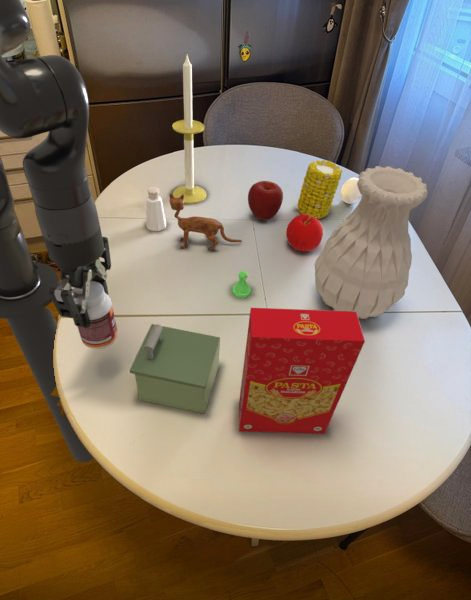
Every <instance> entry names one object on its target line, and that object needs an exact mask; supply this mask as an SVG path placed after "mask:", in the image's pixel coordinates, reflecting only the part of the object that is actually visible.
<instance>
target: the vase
mask: <svg viewBox="0 0 471 600" xmlns="http://www.w3.org/2000/svg"><path fill="white" fill-rule="evenodd" d="M357 179H358V182H357V186H358V189H359V191H360V193H361V195H362V197H361V198H360V200H359V201H358V204H357V206H356V207H355V208H354V209H353V210H352V212H351V213H350V214H349V215H348V216H347V217H346V218H345V219H343V220H342V221H341V222H340V223H339V224H338V226H337V227H336V228H334V230H333V231H332V233H331V234H330V236H329V238H328V239H327V240H326V242H325V243H324V246H323V248H322V251H321V252H320V254H319V255H318V257H317V258H316V260H315V261H314V279H315V287H316V291H317V293H318V295H319V296H320V297H321V298H322V301H323V303H324V304H325V305H327V306H328V307H330V308H333V311H353V312H357V315H358V318H359V319H362V320H364V319H365V320H366V319H368V318H378V317H380V316H382V315H384V313H385V312H387V311H388V310H391V309H392V308H393V307H394V306H395V305H396V304H397V303H398V302H399V301H400V300H401V299H403V297H404V296H405V292H406V289H407V288H408V286H409V278H410V269H411V266H412V259H413V254H412V244H411V243H412V238H411V236H410V233H409V223H410V213H411V211H412V209H415V208H416V207H418V206H420V205H421V203H423V202H424V201H425V200H426V199H427V197H428V194H429V193H428V185H427V183H424V182H423V179H422V178H421V177H417V176H415V175H414V173H413V172H411V171H409V172H408V171H405V170H403V168H400V167H398V168H394V167H392V166H388V165H386V166H385V167H382V166H380V165H375V166H374V168H371V167H367V168H365V170H364V171H361V172H360V173H359V175H358V178H357Z"/></svg>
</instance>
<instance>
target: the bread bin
mask: <svg viewBox="0 0 471 600" xmlns="http://www.w3.org/2000/svg"><path fill="white" fill-rule="evenodd" d="M220 347H221V341H220V342H219V345H218V348H217V352H216V355H215V358H214V362H213V365H212V368H211V371H210V375H209V378H208V381H207V384H206V388H205V389H203V388H198V387H193V386H189V385H184V384H179V383H174V382H170V381H165V380H160V379H156V378H151V377H146V376H142V375H137V374H134V378H135V382H136V388H137V393H138V398H139V400H140V401H144V402H149V403H153V404H158V405H161V406H167V407H171V408H176V409H179V410H185V411H190V412H194V413H199V414H204V415H205V414H206V411H207V408H208V404H209V401H210V397H211V394H212V390H213V387H214V384H215V381H216V378H217V377H216V376H217V373H218V370H219V365H220V349H221V348H220Z"/></svg>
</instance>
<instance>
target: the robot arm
mask: <svg viewBox="0 0 471 600" xmlns="http://www.w3.org/2000/svg"><path fill="white" fill-rule="evenodd" d="M30 33H31V21H30V19H29V16H28V13H27V11H26V9H25V7H24V5H23V3H22V2H21V0H0V132H2V134H5V135H6V136H8V137H9V138H12V139H17V140H23V139H28V138H32V137H35V136H38V135H41V134H45V133H47V136H46V137H45V138H44V140H42V141H41V142H40V143H38V144H37V145H36V146H34V147H32V148H31V149H30V150H28V151H27V152H26V153H25V155H24V156H23V158H22V169H23V173H24V176H25V179H26V182H27V185H28V188H29V191H30V193H31V197H32V200H33V204H34V211H35V212H34V213H35V215H36V220H37V223H38V225H39V228H40V232H41V235H42V238H43V242H44V244H45V247H46V251H47V253H48V257H49V259H50V260H51V261H52V262H53V264H55V265H56V266H57V267H58V268H59V271H60V273H59V277H60V278H59V279H60V284H59V286H58V287H57V288H55V287H51V288H50V291H49V294H50V296H51V298H52V300H53V301H52V303H53V305H54V307H55V308H56V311H57V312H58V315H59V316H60V317H63V318H69V319H72V320H73V323H74V326H75V327H77V326H78V327H83V328H88V327H89V326H90V324H91V323H90V319H89V316H88V312H87V309H86V298H88V297H89V295H90V282H91V281H95V282H98V283H100V284H101V285H102V286H103V288H104V291H105V293H106V294H107V295H108V296H110V295H109V290H108V283H107V278H108V273H107V271H110V270H111V269H112V260H111V252H110V245H109V244H110V243H109V238H108V237H107V236H103V234H102V229H101V228H102V227H101V223H100V219H99V214H98V209H97V205H96V202H95V199H94V196H93V194H92V190H91V185H90V180H89V175H88V171H87V170H88V169H87V167H86V155H87V141H88V129H89V120H90V101H89V100H90V99H89V94H88V89H87V86H86V83H85V81H84V79H83V77H82V74H81V73H80V71H79V70H78V68H77V67H76V66H75V65H74V64H73V63H72V61H70V60H69V59H67V57H64V56H62V55H58V54H48V55H41V56H37V57H31V58H25V59H19V60H14V61H5V59H4V58H3V55H5V54H7V53H9V52H11V51H13V50H16V49H17V48H18V47H20V46H21V45H22V44H24V42H26V40H27V39H28V37H29V36H30ZM100 258H101V259H103V261H102V260H100ZM34 262H35V261H34V259H33V256H32V253H31V250H30V248H29V245H28V243H27V240H26V236H25V234H24V231H23V229H22V226H21V224H20V221H19V218H18V215H17V213H16V210H15V200H14V196H13V192H12V190H11V187H10V182H9V179H8V176H7V172H6V169H5V165H4V162H3V160H2V158H1V156H0V299H1V300H4V301H18V300H22V299H25V298H27V297H29V296H31V295H33V294H34V293H35V292H36V291H37V290H38V289H39V287H40V285H41V279H40V277H39V275H38V273H37V270H38V268H37V266H36V265H35V264H34ZM36 269H37V270H36ZM74 288H79V289H82V292H80V291H75V290H74ZM74 298H77V299H79V304H75V301H74ZM78 327H77V328H78Z"/></svg>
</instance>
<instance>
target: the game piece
mask: <svg viewBox="0 0 471 600" xmlns="http://www.w3.org/2000/svg"><path fill="white" fill-rule="evenodd" d="M248 277H249V274H248V271H246V270H240V271H239V273H238V281H237V283H235V284H234V285H233V286H232V295H234V296H235V297H237V298H240V299H241V298H242V299H243V298H245V299H246V298H247V297H248V296H250V295H251V286H250V285H249V284H248V283H247V279H248Z"/></svg>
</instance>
